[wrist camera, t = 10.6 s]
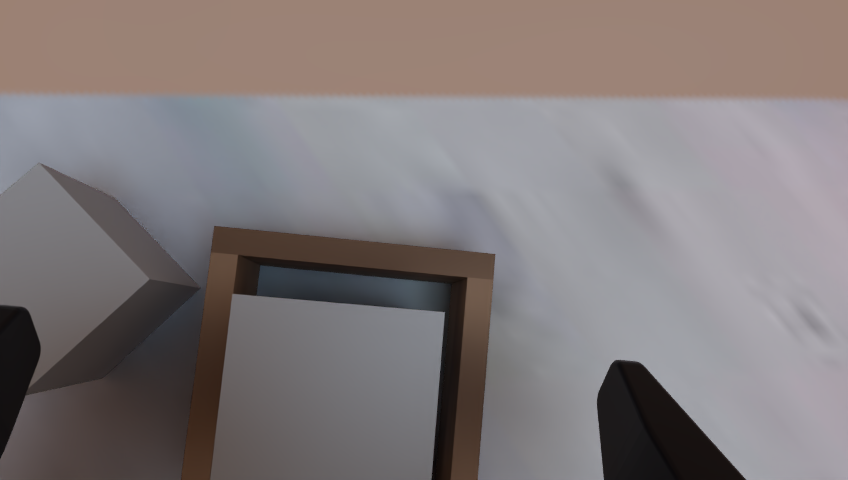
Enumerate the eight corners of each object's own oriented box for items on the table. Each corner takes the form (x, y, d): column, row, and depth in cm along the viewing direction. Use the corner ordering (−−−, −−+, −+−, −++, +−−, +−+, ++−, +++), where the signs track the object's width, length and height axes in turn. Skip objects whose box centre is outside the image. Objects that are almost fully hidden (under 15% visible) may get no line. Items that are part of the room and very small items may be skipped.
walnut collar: (454, 504, 23) (472, 543, 19) (209, 486, 23) (174, 522, 19) (474, 264, 24) (495, 254, 20) (240, 241, 24) (214, 226, 20)
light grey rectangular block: (403, 439, 23) (426, 530, 14) (276, 430, 23) (205, 516, 13) (414, 313, 24) (444, 312, 14) (290, 303, 24) (232, 293, 14)
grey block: (102, 378, 23) (19, 396, 17) (15, 285, 23) (-95, 275, 18) (201, 287, 24) (149, 279, 18) (115, 198, 24) (38, 162, 18)
